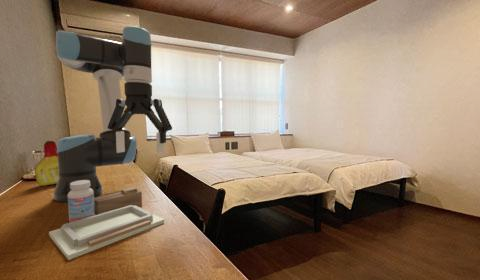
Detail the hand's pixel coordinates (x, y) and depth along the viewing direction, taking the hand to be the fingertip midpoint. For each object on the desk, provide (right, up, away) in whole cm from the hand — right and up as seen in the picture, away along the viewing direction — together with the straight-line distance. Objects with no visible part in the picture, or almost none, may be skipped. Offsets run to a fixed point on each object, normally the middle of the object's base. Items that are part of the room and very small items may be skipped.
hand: (140, 153), depth 68 cm
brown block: (-9, -19, +4) cm, 21 cm away
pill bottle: (-14, -19, -5) cm, 24 cm away
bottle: (-55, -17, +34) cm, 67 cm away
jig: (-4, -19, -10) cm, 22 cm away
